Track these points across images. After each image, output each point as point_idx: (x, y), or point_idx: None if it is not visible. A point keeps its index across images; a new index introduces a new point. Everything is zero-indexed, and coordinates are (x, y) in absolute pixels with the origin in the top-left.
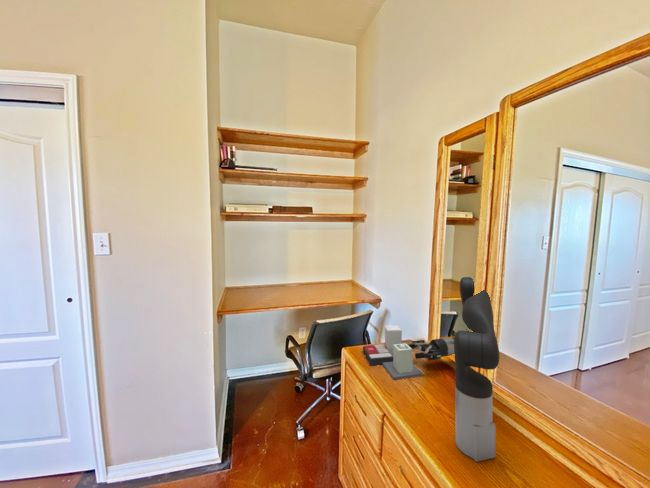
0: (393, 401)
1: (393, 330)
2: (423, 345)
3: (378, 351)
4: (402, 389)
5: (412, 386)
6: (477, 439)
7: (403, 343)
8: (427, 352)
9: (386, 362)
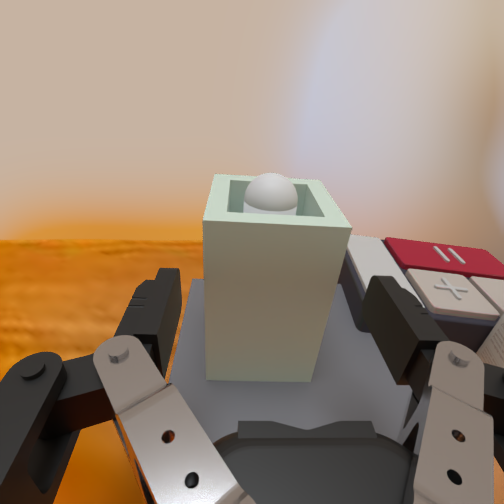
0: (73, 247)
1: None
2: (407, 478)
3: (426, 270)
4: (110, 291)
5: (98, 334)
6: None
7: (344, 217)
8: (102, 378)
9: (341, 298)
